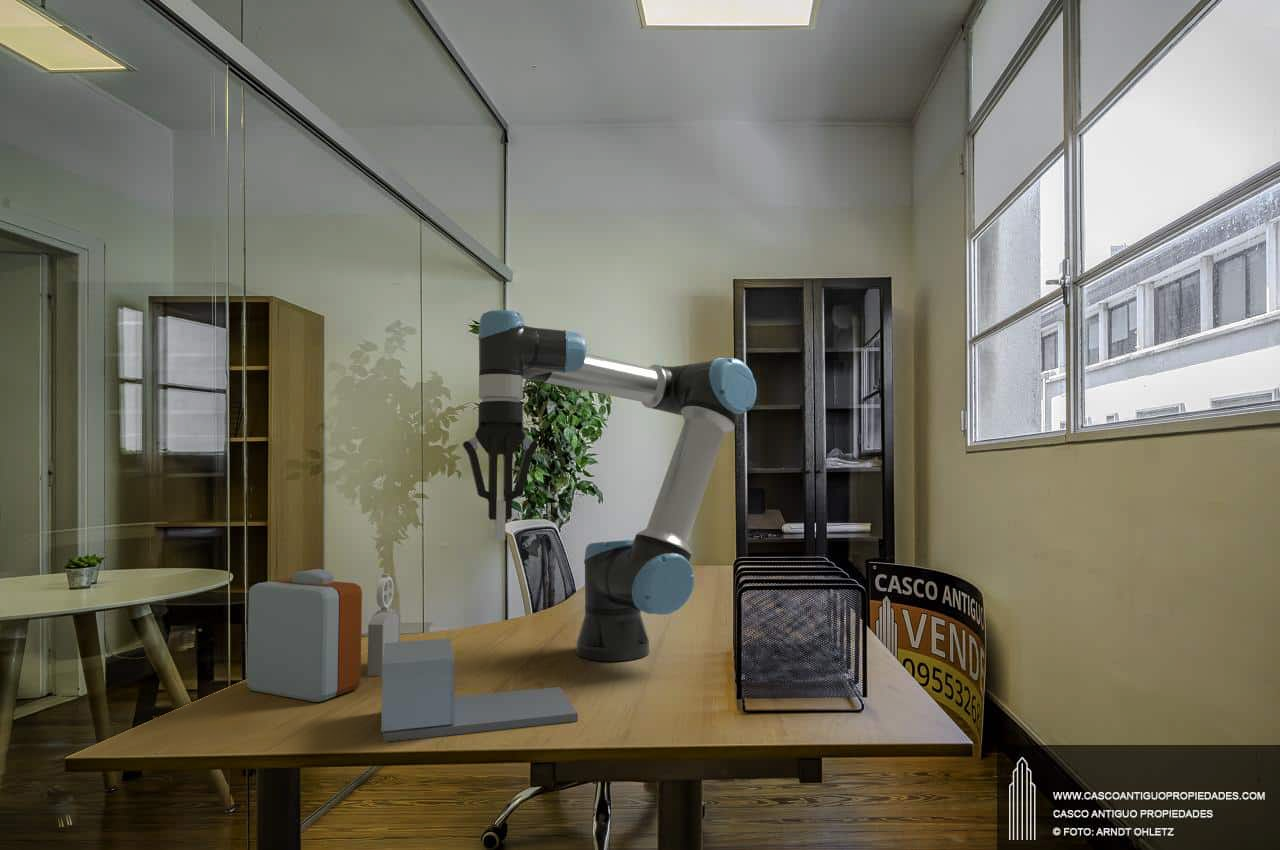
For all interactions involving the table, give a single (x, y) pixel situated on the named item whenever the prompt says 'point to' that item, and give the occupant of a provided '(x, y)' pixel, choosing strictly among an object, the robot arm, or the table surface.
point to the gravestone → (382, 626)
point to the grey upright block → (417, 684)
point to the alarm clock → (304, 636)
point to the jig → (498, 713)
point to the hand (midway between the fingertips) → (499, 538)
